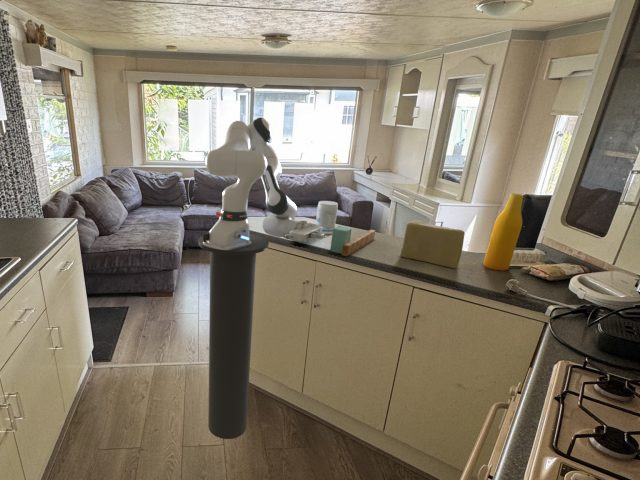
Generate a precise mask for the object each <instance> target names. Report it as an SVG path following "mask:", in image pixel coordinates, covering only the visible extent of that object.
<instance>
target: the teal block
mask: <svg viewBox="0 0 640 480" xmlns="http://www.w3.org/2000/svg"><path fill="white" fill-rule="evenodd" d="M352 229H353V228H351V227H347V226H340V225H338V226H335V228H333V233H332V234H331V241H330V248H329V251H330V252H332V253H336V254H341V255H342V248H343V245H344V244H346V243H347V242H349V241H351V236H352Z"/></svg>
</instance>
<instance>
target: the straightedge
mask: <svg viewBox="0 0 640 480" xmlns="http://www.w3.org/2000/svg"><path fill="white" fill-rule="evenodd" d="M375 235H376V230H374V229H369V230H367V231H365V232H364V233H362V234H360V235H358V236H356V237H354V238H352V239H350V241H349V242H347V243H346V244H344V245H343V248H342V254H341V256H342V257H343V256H344V257H348V256H350V255H351V254H353V253H354V252H357V251H359V250H360V249H361V248H362V247H364V246H366V245H368V244H369V243H370V242H372V241H374V240H375Z"/></svg>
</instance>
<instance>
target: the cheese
mask: <svg viewBox="0 0 640 480" xmlns="http://www.w3.org/2000/svg"><path fill="white" fill-rule="evenodd" d="M465 234H466V233H465V231H464V230H462V229H459V228H452V227H446V226H441V225H436V224H431V223H429V222H425V221H422V220H419V219H417V220H412V221H409V222H407V223H406V225H405V231H404V235H403V240H402V244H401V245H402V247H401V252H400V257H401V258H405V259H410V260H411V259H412V260H415V261H420V262H425V263H428V264H433V265H437V266H441V267H446V268H449V269H450V268H451V269H458V268H459V264H460V261H461V257H462V252H463V248H464V240H465Z"/></svg>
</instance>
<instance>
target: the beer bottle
mask: <svg viewBox="0 0 640 480" xmlns="http://www.w3.org/2000/svg"><path fill="white" fill-rule="evenodd" d="M523 201H524V194H521V193H510V195H509V197H508V199H507V202H506V204H505V207H504V209H503V210H502V211H501V212H500V214H499V215H498V216H497V218H495V219H496V220H495V222H494V224H493V228H492V231H491V235H490V238H489V239H490V240H489V242H488V246H487V250H486V253H485V256H484V260H483V266H484V267H485V268H487V269H490V270H494V271H503V272H504V271H507V270H509V268H510V266H511V263H512V260H513V256H514V253H515V250H516V247H517V243H518V239H519V236H520V233H521V230H522V228H523V216H522V205H523Z"/></svg>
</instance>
